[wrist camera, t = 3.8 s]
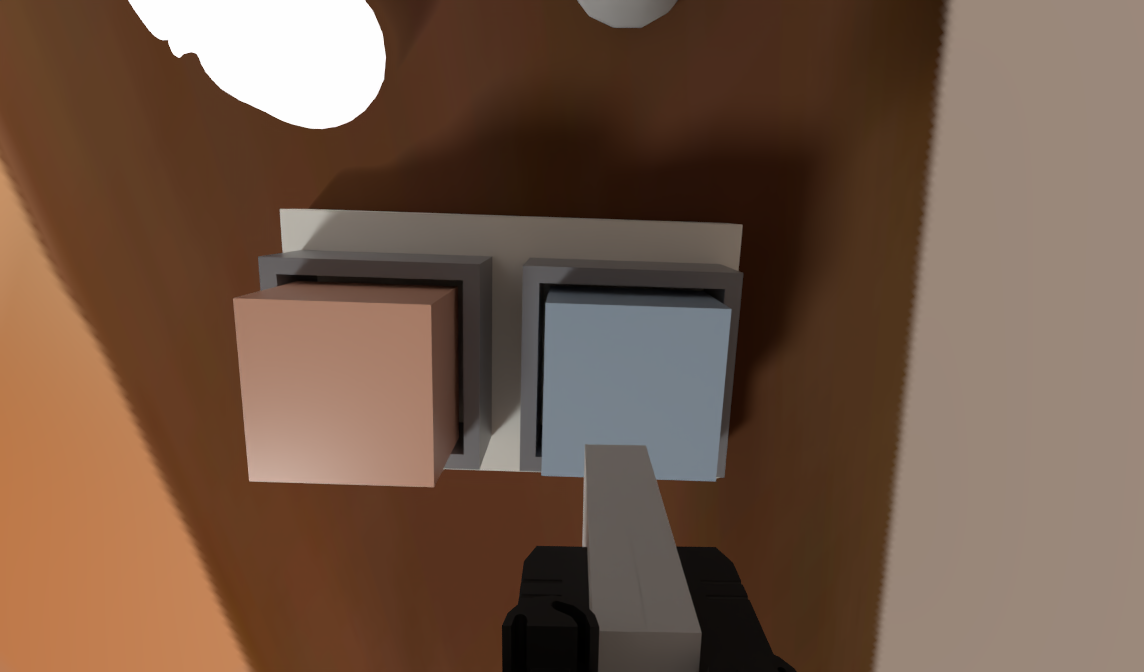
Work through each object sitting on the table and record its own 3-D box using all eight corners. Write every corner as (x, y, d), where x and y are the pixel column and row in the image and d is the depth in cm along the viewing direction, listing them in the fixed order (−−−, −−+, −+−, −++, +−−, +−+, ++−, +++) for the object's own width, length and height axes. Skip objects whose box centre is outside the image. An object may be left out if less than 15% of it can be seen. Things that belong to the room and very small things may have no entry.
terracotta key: (297, 280, 26) (233, 298, 21) (457, 286, 26) (430, 304, 21) (307, 432, 27) (249, 481, 23) (458, 437, 28) (434, 487, 23)
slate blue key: (550, 285, 27) (545, 302, 22) (703, 290, 27) (731, 309, 22) (546, 429, 29) (541, 475, 24) (691, 434, 29) (715, 481, 24)
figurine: (256, -41, 29) (37, -212, 17) (401, -3, 29) (284, -146, 17) (238, 111, 30) (25, 50, 19) (377, 145, 31) (253, 106, 19)
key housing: (307, 208, 31) (232, 209, 24) (726, 223, 31) (769, 227, 24) (321, 442, 34) (257, 501, 27) (706, 454, 34) (740, 516, 27)
